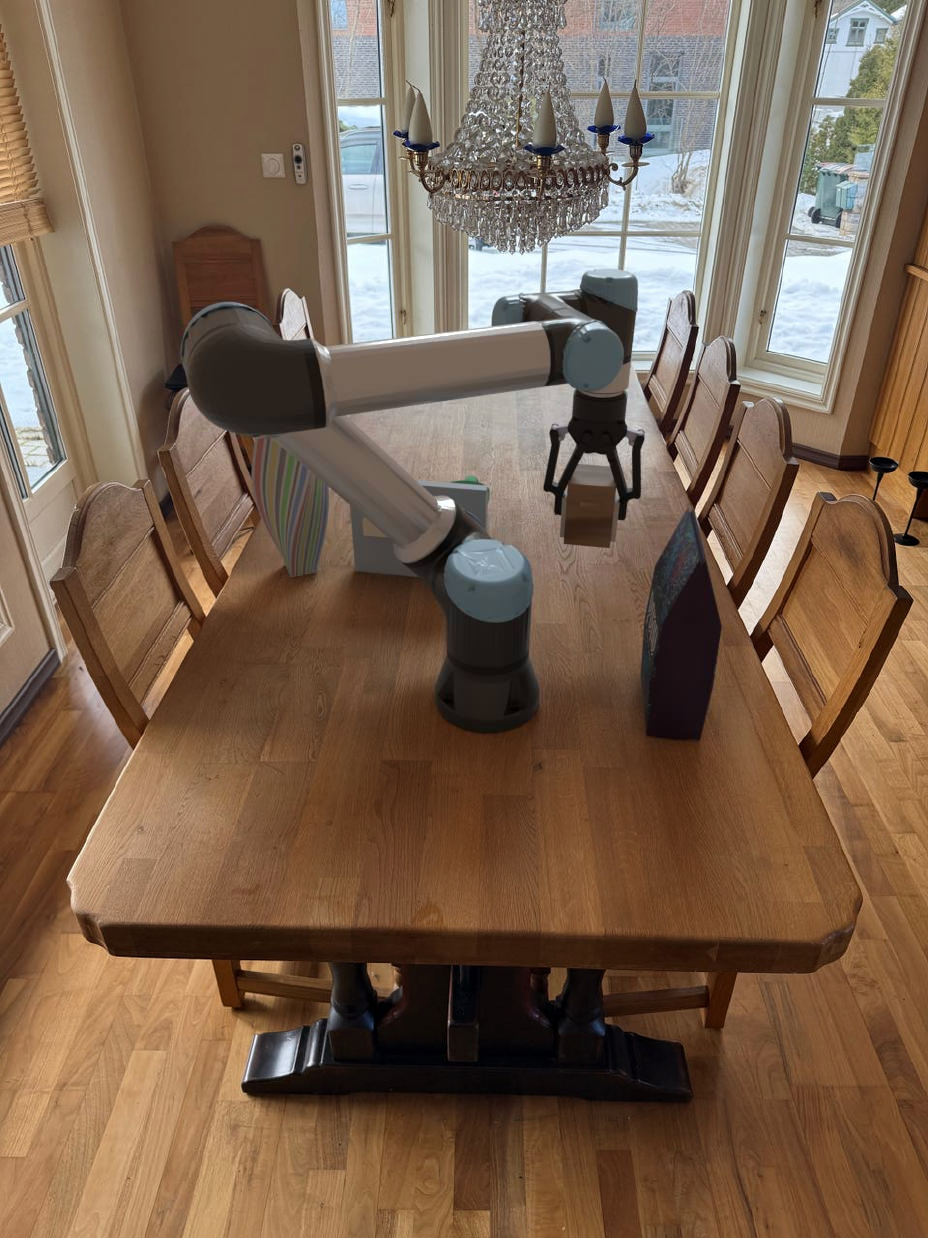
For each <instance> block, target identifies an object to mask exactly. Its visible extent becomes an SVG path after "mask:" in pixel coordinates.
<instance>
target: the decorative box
mask: <svg viewBox="0 0 928 1238" xmlns="http://www.w3.org/2000/svg"><path fill="white" fill-rule="evenodd" d="M700 532H701V531H700V529H699V524H698V520H697V515H696V511H695V507H693V508H692V509H691V511H690V509H689V507H687V508H686V510H685V512H684V513H683V515H682V517H681V518H680V520H679V522H678V525H677V526H676V528H675V529H674V531H673V533H672V535H671V536H670V538H669V540H668V542H667V543H666V546H665V547H664V549H663V551H662V552H661V555H660V556H659V558H658V559H657V561H656V563H655V565H654V569H653V574H652V578H651V579H652V580H651V585H650V589H649V593H648V594H649V595H648V599H647V605H646V611H645V616H644V622H643V631H642V632H643V633H642V645H641V646H642V648H641V662H640V680H641V692H642V701H643V702H642V703H643V715H644V726H645V736H646V737H651V738H659V739H666V740H672V741H674V740H675V741H676V740H677V741H679V740H681V741H682V740H685V741H686V740H691V739H696V740H695V741H700V740H701V738H702V735H703V730H704V727H705V722H706V719H707V713H708V709H709V706H710V701H711V698H712V693H713V689H714V684H715V677H716V671H717V664H718V656H719V649H720V642H721V634H722V627H723V626H722V625H723V624H722V620H721V617H720V613H719V612H720V611H719V608H718V604H717V599H716V594H715V591H714V586H713V583H712V578H711V574H710V570H709V566H708V561H707V558H706V551H705V550H704V549H705V548H704V545H703V539H702V537H701V533H700Z"/></svg>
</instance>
